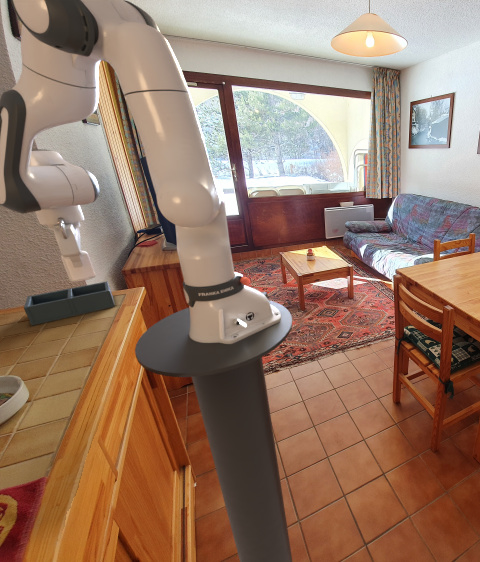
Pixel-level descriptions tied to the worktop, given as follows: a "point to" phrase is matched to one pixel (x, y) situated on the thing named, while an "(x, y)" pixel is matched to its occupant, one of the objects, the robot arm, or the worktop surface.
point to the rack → (68, 302)
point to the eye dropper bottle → (79, 268)
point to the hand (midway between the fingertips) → (78, 264)
